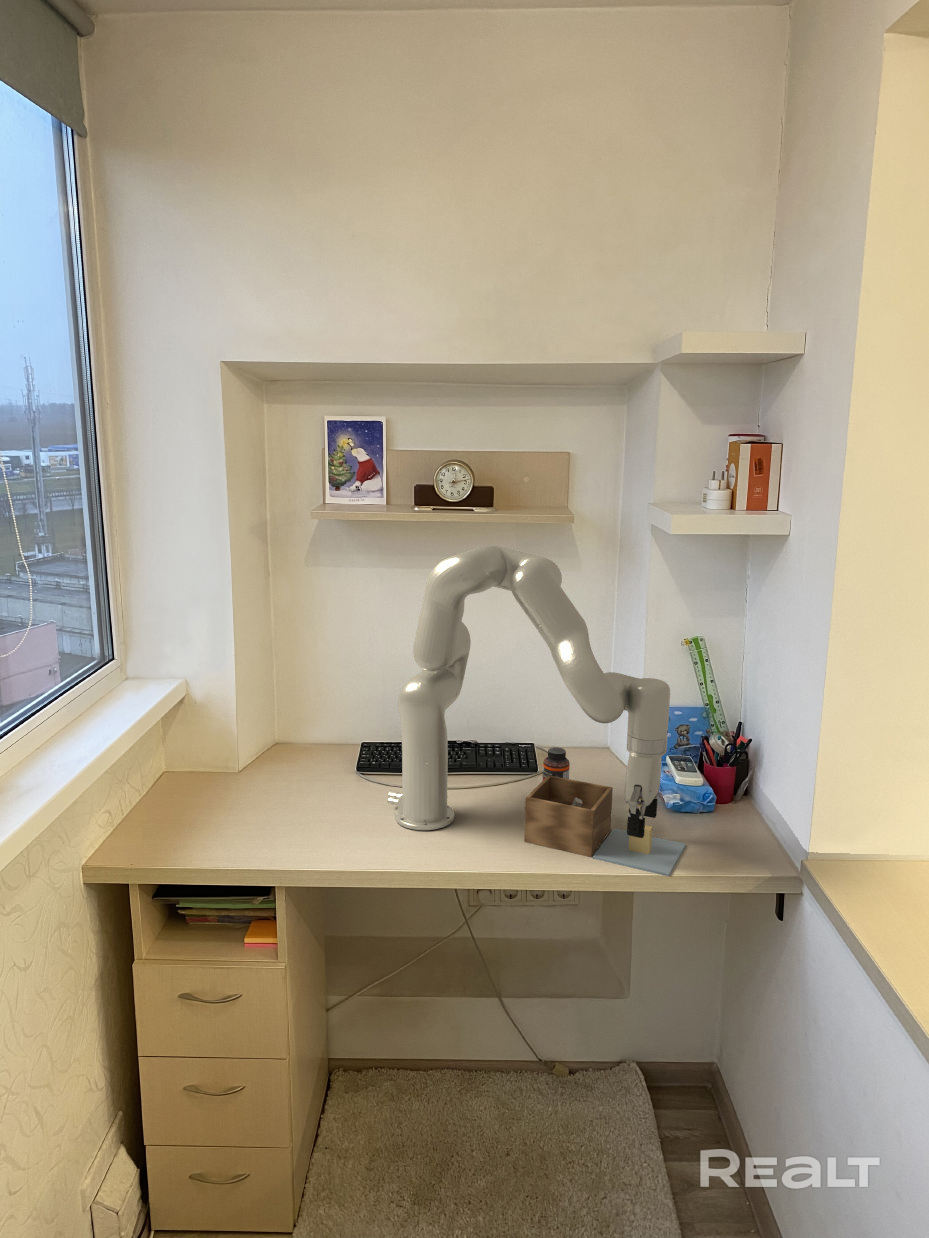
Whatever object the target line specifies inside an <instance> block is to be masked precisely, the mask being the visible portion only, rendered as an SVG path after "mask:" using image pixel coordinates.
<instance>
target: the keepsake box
mask: <svg viewBox="0 0 929 1238" xmlns="http://www.w3.org/2000/svg"><path fill="white" fill-rule="evenodd" d="M542 780H543V779H542ZM575 798H578V799H580V800H582V805H581V807H576V806H571V805H572V803H573V801H574V799H575ZM524 804H525V806H524V839H523V841H524V842H523V843H528V844H533V845H536V846H542V847H545V848H550V849H555V850H558V851H563V852H568V853H572V854H576V855H581V856H586V857H588V858H593V856H594V854H595V853H596V852H597V850H598V849H599V848H600V846H601V845H602V844H603V842H604V841H605V840H606V839H605V838H607V837H608V835H609V834H610V833H611V825H612V823H611V822H612V810H613V809H612V804H613V787H612V786H607V785H602V784H596V783H591V782H586V781H580V780H575V779H571V778H569V779H565V778H560V777H555V776H550V775H548V776H547V777H546V778H545V779H544V780H543V781H541V782H540V783H539V784H538V785H537V786H535V788H533V790H532V791H531V792H530V793H528V795H526V796H525V803H524Z"/></svg>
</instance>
